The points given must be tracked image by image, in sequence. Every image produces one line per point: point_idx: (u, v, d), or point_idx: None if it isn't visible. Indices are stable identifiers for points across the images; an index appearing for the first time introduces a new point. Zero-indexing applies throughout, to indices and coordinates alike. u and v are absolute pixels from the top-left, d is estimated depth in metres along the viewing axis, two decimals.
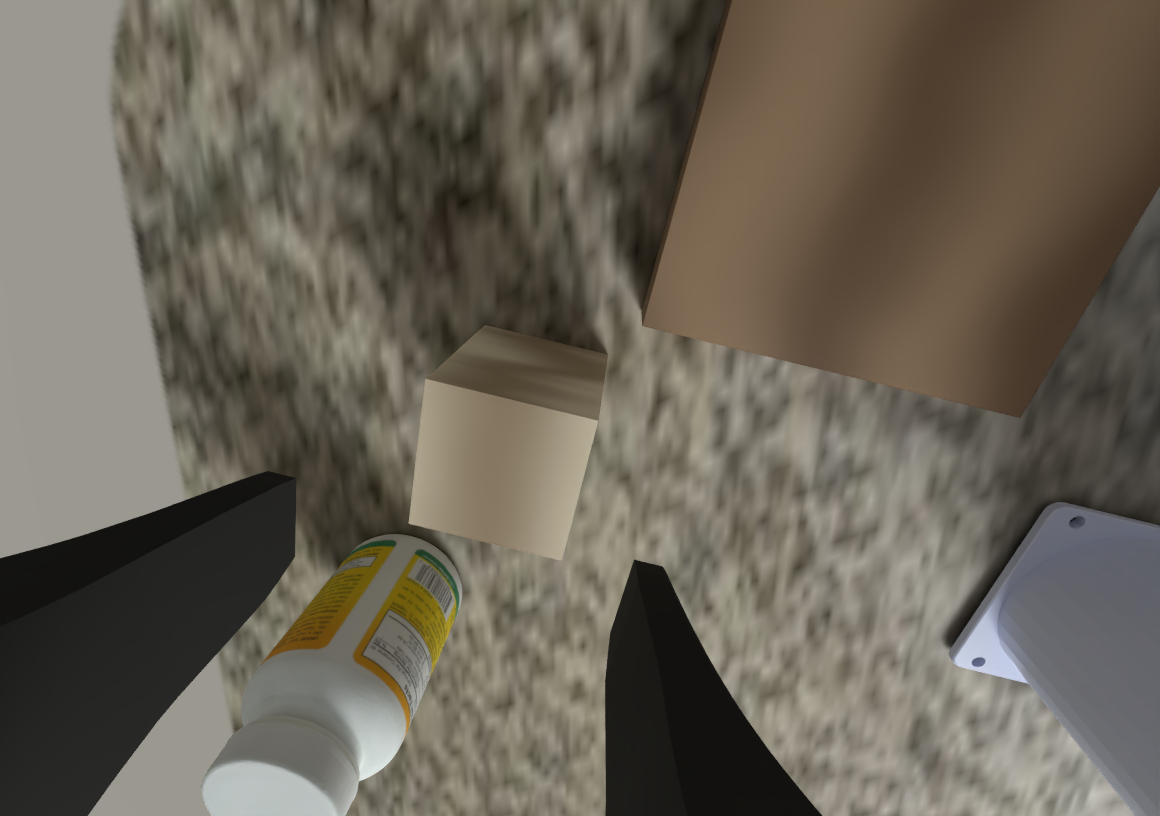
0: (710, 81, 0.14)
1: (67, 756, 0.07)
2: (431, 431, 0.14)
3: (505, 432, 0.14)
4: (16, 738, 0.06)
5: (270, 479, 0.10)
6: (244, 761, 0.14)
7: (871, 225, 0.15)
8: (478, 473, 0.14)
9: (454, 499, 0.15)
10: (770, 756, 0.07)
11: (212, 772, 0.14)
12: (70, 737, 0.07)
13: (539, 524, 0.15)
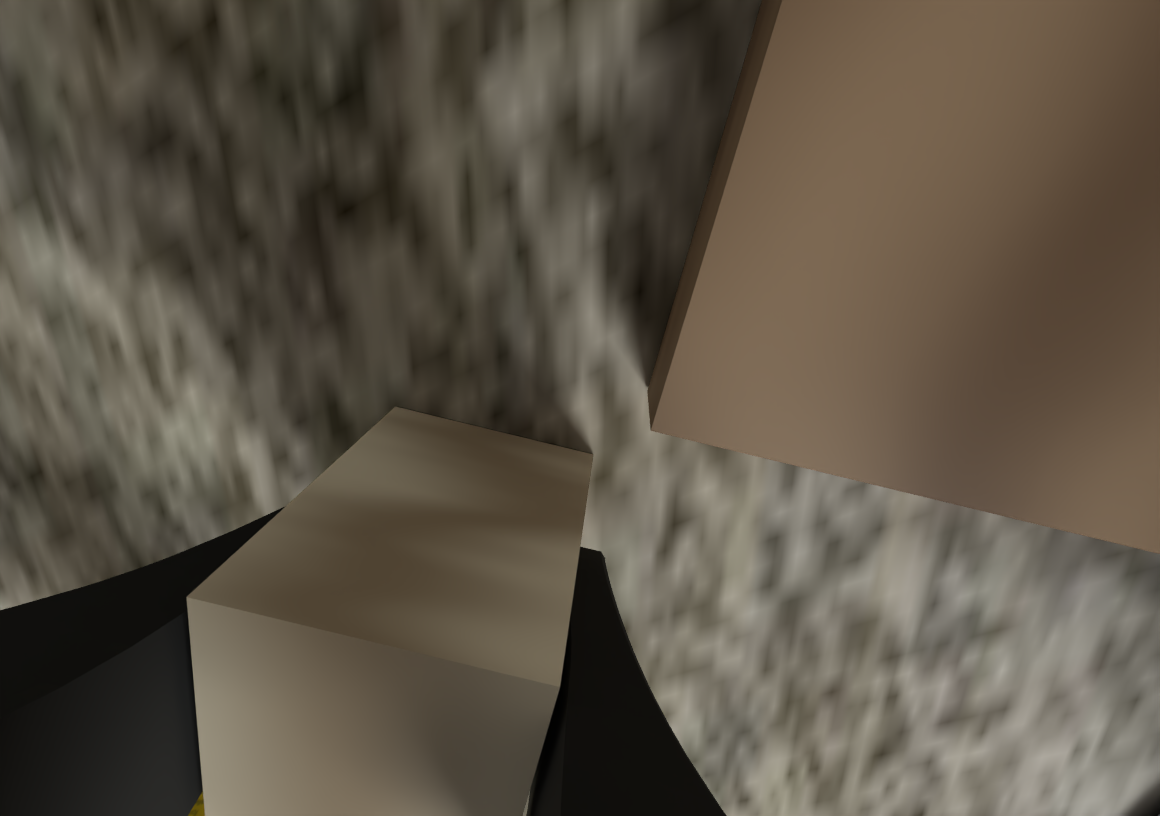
0: None
1: (162, 779, 0.07)
2: (218, 688, 0.07)
3: (367, 697, 0.07)
4: (124, 764, 0.06)
5: None
6: None
7: (1097, 257, 0.08)
8: (323, 760, 0.07)
9: (284, 796, 0.08)
10: (667, 731, 0.07)
11: None
12: (166, 760, 0.07)
13: None
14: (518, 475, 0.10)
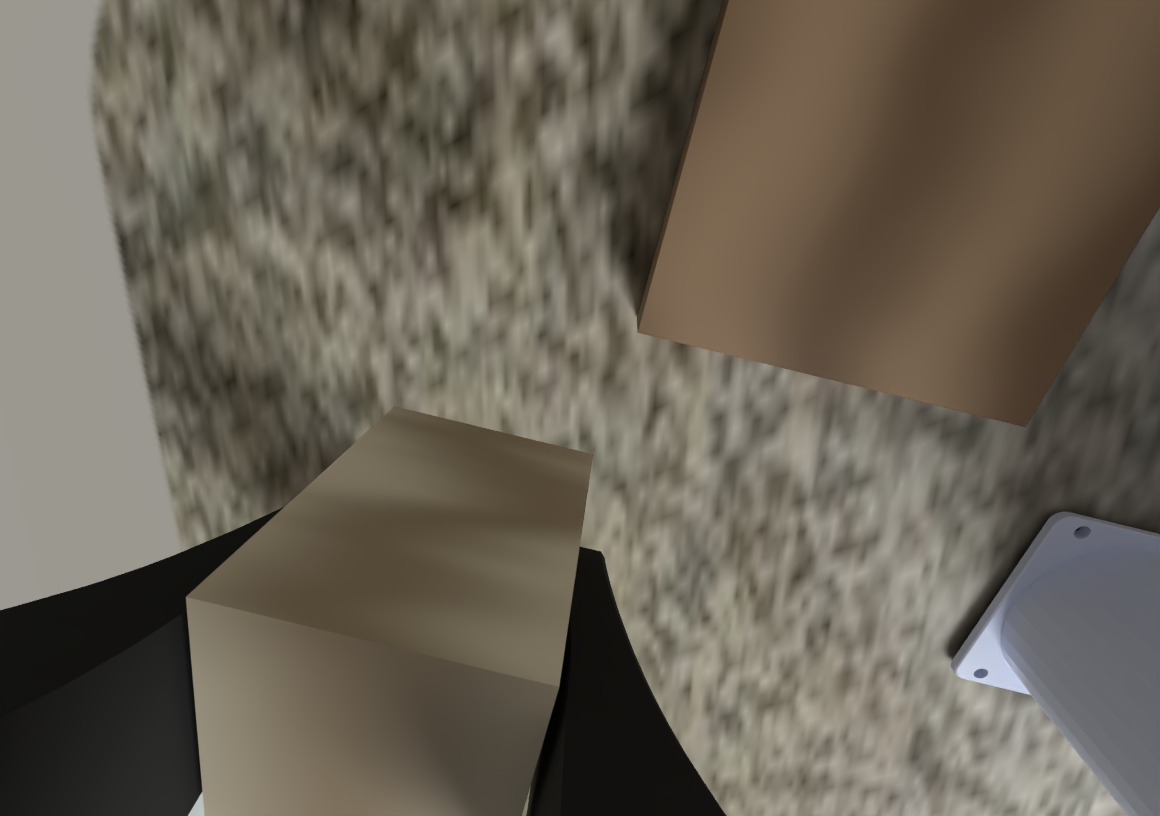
0: (707, 81, 0.14)
1: (162, 779, 0.07)
2: (217, 688, 0.07)
3: (367, 697, 0.07)
4: (124, 764, 0.06)
5: None
6: None
7: (873, 229, 0.14)
8: (322, 760, 0.07)
9: (283, 796, 0.08)
10: (667, 731, 0.07)
11: None
12: (166, 760, 0.07)
13: None
14: (518, 475, 0.10)
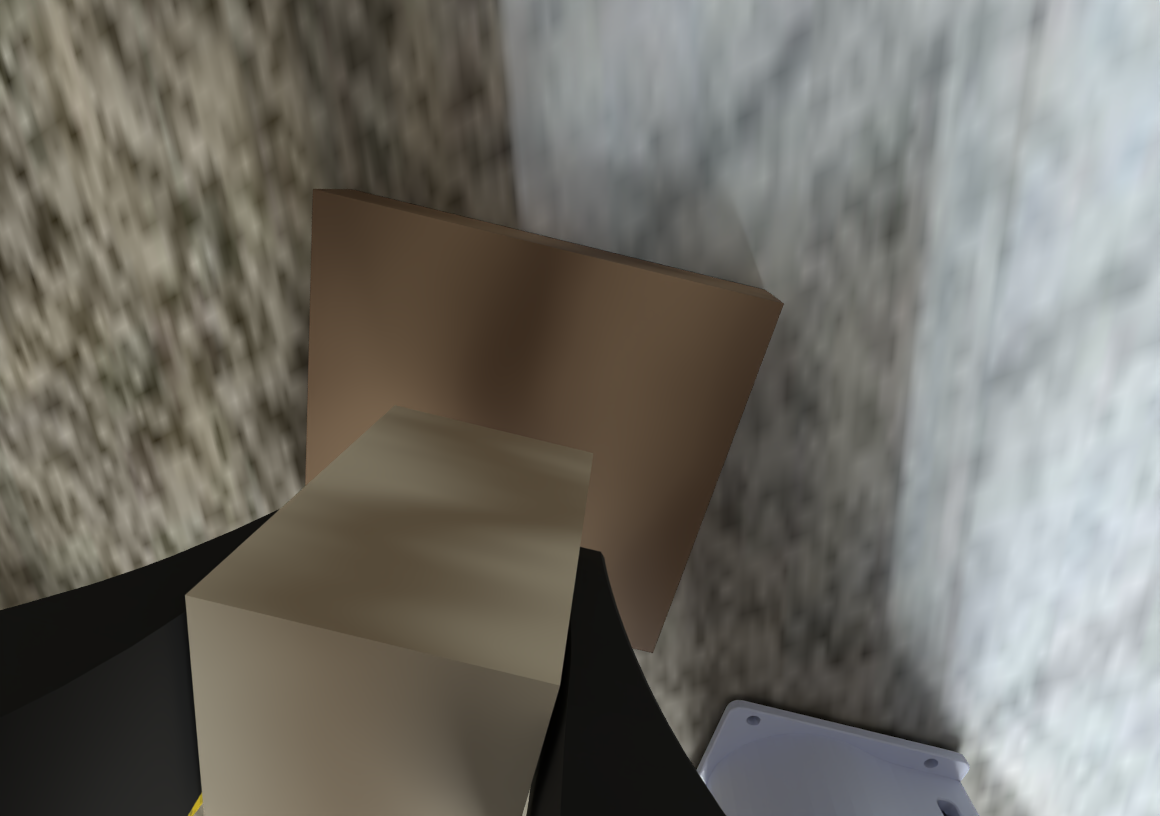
0: (309, 385, 0.15)
1: (162, 779, 0.07)
2: (216, 687, 0.07)
3: (367, 695, 0.07)
4: (123, 764, 0.06)
5: None
6: None
7: None
8: (322, 759, 0.07)
9: (283, 795, 0.08)
10: (667, 731, 0.07)
11: None
12: (165, 760, 0.07)
13: None
14: (518, 474, 0.10)
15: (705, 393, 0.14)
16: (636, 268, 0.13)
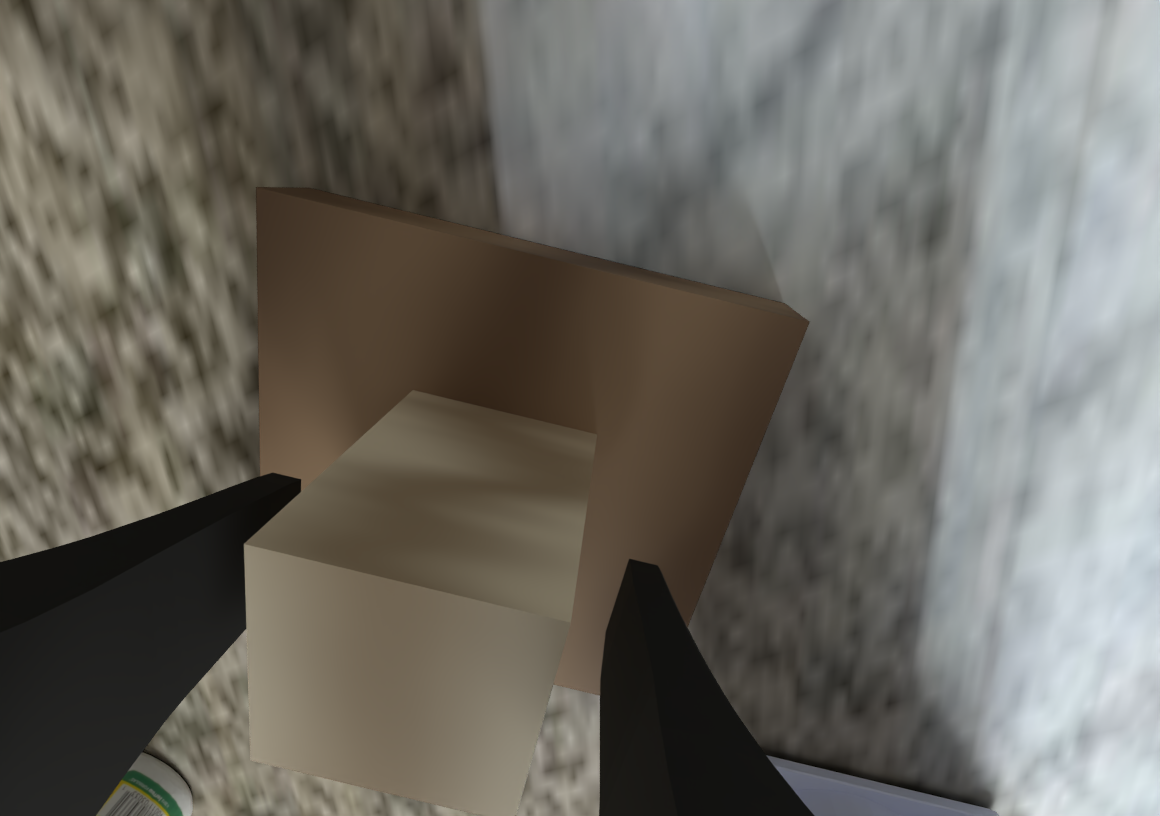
0: (260, 413, 0.13)
1: (74, 758, 0.07)
2: (267, 628, 0.08)
3: (400, 635, 0.08)
4: (24, 740, 0.06)
5: (275, 480, 0.10)
6: None
7: None
8: (359, 695, 0.08)
9: (322, 730, 0.08)
10: (761, 754, 0.07)
11: None
12: (77, 739, 0.07)
13: (472, 772, 0.09)
14: (528, 451, 0.11)
15: (717, 424, 0.12)
16: (636, 280, 0.11)
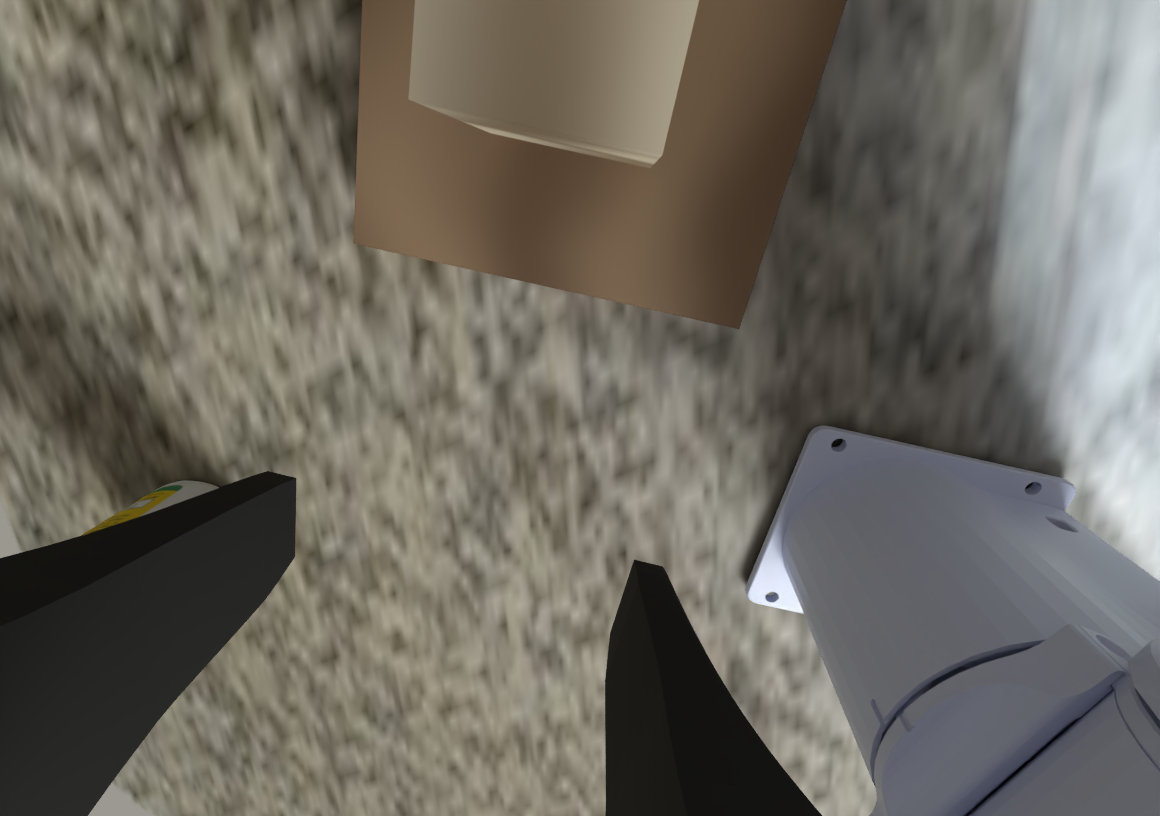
0: None
1: (67, 756, 0.07)
2: None
3: None
4: (16, 738, 0.06)
5: (270, 479, 0.10)
6: None
7: None
8: None
9: (484, 35, 0.09)
10: (770, 756, 0.07)
11: None
12: (70, 737, 0.07)
13: (627, 76, 0.09)
14: None
15: None
16: None
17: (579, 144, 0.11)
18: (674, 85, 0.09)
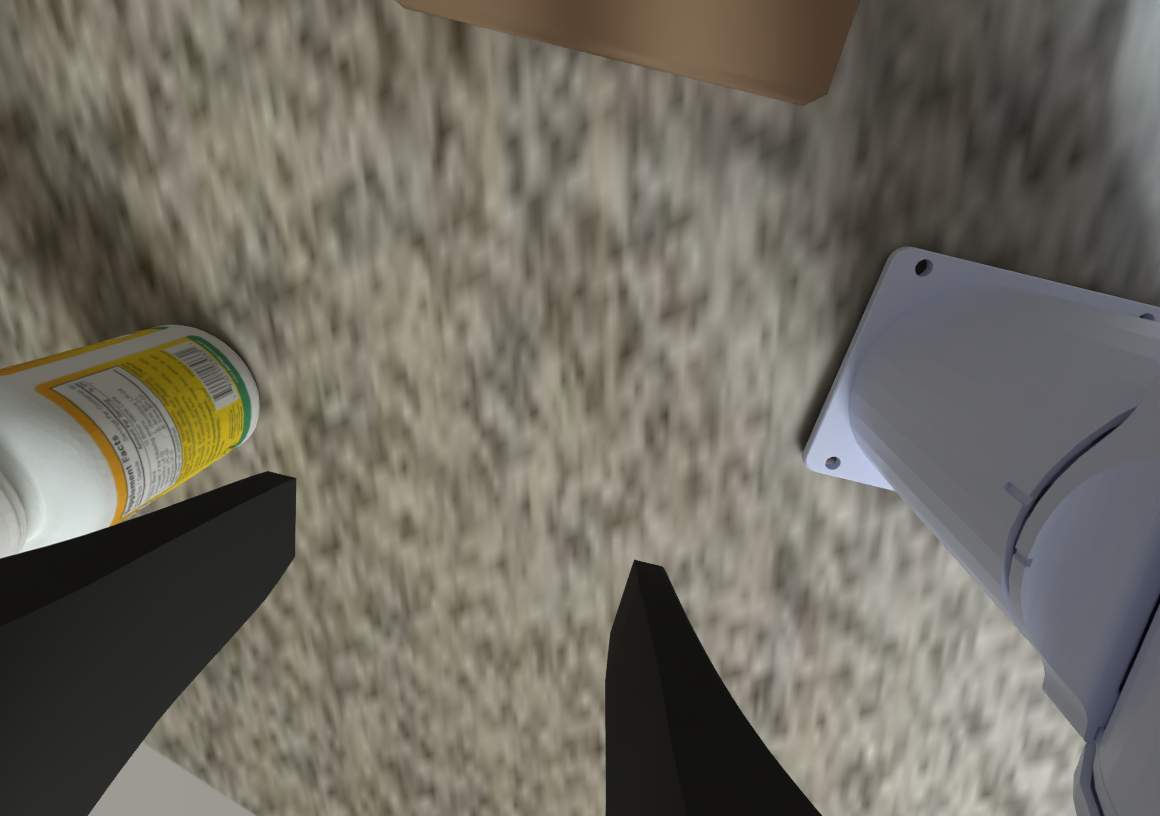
0: None
1: (67, 756, 0.07)
2: None
3: None
4: (16, 738, 0.06)
5: (270, 479, 0.10)
6: None
7: None
8: None
9: None
10: (770, 756, 0.07)
11: None
12: (70, 737, 0.07)
13: None
14: None
15: None
16: None
17: None
18: None
